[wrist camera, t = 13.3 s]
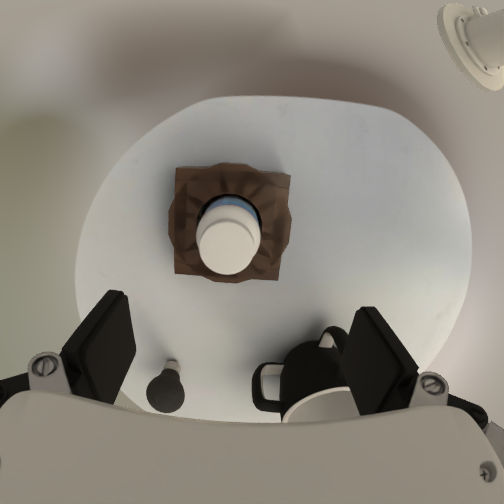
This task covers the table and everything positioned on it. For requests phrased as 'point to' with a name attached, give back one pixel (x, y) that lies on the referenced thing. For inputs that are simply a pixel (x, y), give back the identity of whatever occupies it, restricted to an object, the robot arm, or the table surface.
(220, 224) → the pill bottle
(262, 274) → the hole plate
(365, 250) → the table surface
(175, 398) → the light bulb
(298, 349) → the mug
